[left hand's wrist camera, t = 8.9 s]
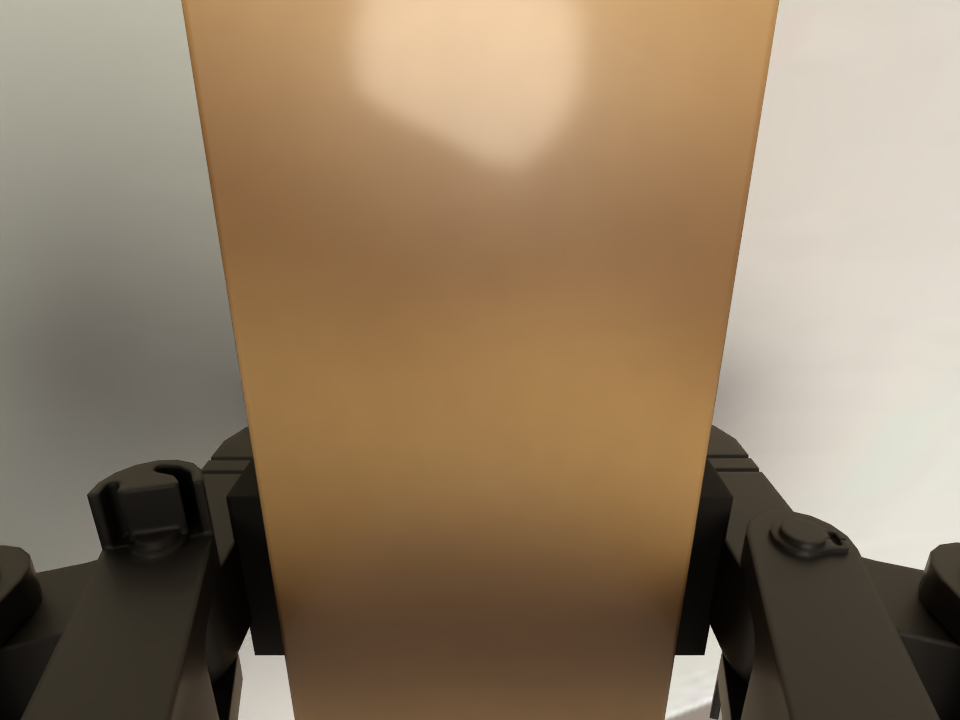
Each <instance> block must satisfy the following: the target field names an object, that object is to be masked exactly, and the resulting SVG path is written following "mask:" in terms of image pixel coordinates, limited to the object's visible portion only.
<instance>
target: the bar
mask: <svg viewBox="0 0 960 720" xmlns="http://www.w3.org/2000/svg"><path fill="white" fill-rule="evenodd" d="M181 1H182V8H183V14H184V20H185V27H186V33H187V39H188V46H189V52H190V58H191V65H192V71H193V77H194V84H195V90H196V96H197V103H198V109H199V115H200V122H201V128H202V134H203V141H204V147H205V153H206V160H207V166H208V172H209V179H210V185H211V191H212V198H213V204H214V210H215V217H216V223H217V229H218V236H219V242H220V248H221V255H222V261H223V267H224V274H225V280H226V286H227V293H228V299H229V305H230V312H231V318H232V324H233V331H234V337H235V343H236V350H237V356H238V362H239V369H240V375H241V381H242V388H243V394H244V400H245V407H246V413H247V419H248V426H249V432H250V439H251V445H252V451H253V458H254V464H255V470H256V477H257V483H258V489H259V496H260V502H261V508H262V515H263V521H264V527H265V534H266V540H267V546H268V553H269V559H270V565H271V572H272V578H273V584H274V591H275V597H276V603H277V610H278V616H279V622H280V629H281V635H282V641H283V648H284V654H285V660H286V667H287V673H288V679H289V686H290V692H291V698H292V705H293V711H294V717H295V720H664V719H665V713H666V707H667V701H668V694H669V688H670V682H671V676H672V669H673V663H674V657H675V650H676V644H677V638H678V632H679V625H680V619H681V613H682V607H683V600H684V594H685V588H686V581H687V575H688V569H689V563H690V556H691V550H692V544H693V538H694V531H695V525H696V519H697V513H698V506H699V500H700V494H701V487H702V481H703V475H704V469H705V462H706V456H707V450H708V444H709V437H710V431H711V425H712V418H713V412H714V406H715V400H716V393H717V387H718V381H719V375H720V368H721V362H722V356H723V349H724V343H725V337H726V331H727V324H728V318H729V312H730V306H731V299H732V293H733V287H734V280H735V274H736V268H737V262H738V255H739V249H740V243H741V237H742V230H743V224H744V218H745V211H746V205H747V199H748V193H749V186H750V180H751V174H752V168H753V161H754V155H755V149H756V142H757V136H758V130H759V124H760V117H761V111H762V105H763V99H764V92H765V86H766V80H767V74H768V67H769V61H770V55H771V48H772V42H773V36H774V30H775V23H776V17H777V11H778V5H779V0H181Z"/></svg>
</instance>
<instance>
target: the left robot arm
mask: <svg viewBox="0 0 960 720" xmlns="http://www.w3.org/2000/svg"><path fill="white" fill-rule="evenodd" d="M87 497H88V500H89V504H90V507H91V511H92V514H93V518H94V521H95V525H96V528H97V532H98V535H99V539H100V542H101V546H102V549H103V550H102V552H101V554H100V556H99V558H98V560H96V561H92V562H88V563H84V564H79V565H74V566H69V567H64V568H60V569H55V570H50V571H45V572H40V573H36V572H35V569H34V566H33V563H32V560H31V557H30V555H29V554H28V553H27V552H25V551H24V550H23V549H21V548H19V547H12V546H4V545H2V546H0V720H238V713H239V705H240V697H241V688H242V680H243V678H242V671H241V664H240V659H239V654H238V651H239V649H240V647H241V645H242V643H243V640H244V638H245V636H246V634H247V631H248V629H249V627H250V630H251V636H252V641H253V647H254V652H255V655H285V654H284V648H283V641H282V635H281V629H280V622H279V616H278V610H277V603H276V597H275V591H274V584H273V578H272V572H271V565H270V559H269V553H268V546H267V540H266V534H265V527H264V521H263V515H262V508H261V502H260V496H259V489H258V483H257V477H256V470H255V464H254V458H253V451H252V445H251V439H250V432H249V427H246V428H244V429H243V430H241V431H240V432H238V433H236V434H235V435H233V436H232V437H230V438H228V439H227V440H225V441H224V442H223V443H222V445H221V446H220V447H219V448H218V450H217V451H216V452H215V453H214V455H213V456H212V457H211V461H208V462H207V463H206V465H205V466H204V467H203V469H202V470H201V469H200V468H199V467H197V466H196V465H195V464H193V463H190V462H185V461H180V460H158V461H153V462H148V463H144V464H139V465H135V466H132V467H130V468H127V469H124V470H122V471H119V472H116V473H114V474H113V475H111V476H109V477H108V478H106V479H104V480H103V481H101V482H99V483H98V484H97V485H96V486H95V487H94V488H93V489H92V490H91V491H90V492H89V493H88V495H87ZM710 625H711V627H712V630H713V632H714V634H715V636H716V638H717V641H718V643H719V645H720V647H721V649H722V654H721V659H720V664H719V670H718V675H717V680H716V685H715V690H714V695H713V700H712V705H711V712H710V718H712V719H717V720H718V717H719V712H720V708H721V711H722V720H960V543H949V544H942V545H939V546H938V547H936V548H935V549H934V550H933V551H931V552H930V555H929V558H928V561H927V564H926V567H925V570H919V569H914V568H909V567H904V566H899V565H894V564H889V563H884V562H879V561H874V560H871V559H867V558H863V557H861V555H860V553H859V551H858V549H857V548H856V546H855V545H854V544H853V543H852V541H851V540H850V539H849V538H848V536H846V535H845V534H844V533H842V532H841V531H839V530H838V529H836V528H835V527H834V526H832V525H831V524H828V523H826V522H824V521H822V520H819V519H817V518H815V517H812V516H809V515H805V514H801V513H797V512H793V511H792V509H791V508H790V507H789V506H788V504H787V503H786V502H785V500H784V499H783V498H782V497H781V495H780V494H779V493H778V492H777V490H776V489H775V488H774V487H773V485H772V484H771V483H770V482H769V480H768V479H767V478H766V477H765V475H764V474H763V473H762V472H759V468H758V467H757V465H756V464H755V463H754V462H753V460H752V459H751V458H748V454H747V453H746V452H745V450H744V449H743V448H742V447H741V445H740V444H739V443H738V442H737V440H736V439H735V438H733V437H731V436H730V435H728V434H726V433H725V432H723V431H722V430H720V429H718V428H717V427H715V426H714V425H711V431H710V437H709V444H708V450H707V456H706V462H705V469H704V475H703V481H702V487H701V494H700V500H699V506H698V513H697V519H696V525H695V531H694V538H693V544H692V550H691V556H690V563H689V569H688V575H687V581H686V588H685V594H684V600H683V607H682V613H681V619H680V625H679V632H678V638H677V644H676V650H675V655H704V654H705V649H706V643H707V638H708V633H709V627H710Z"/></svg>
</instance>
